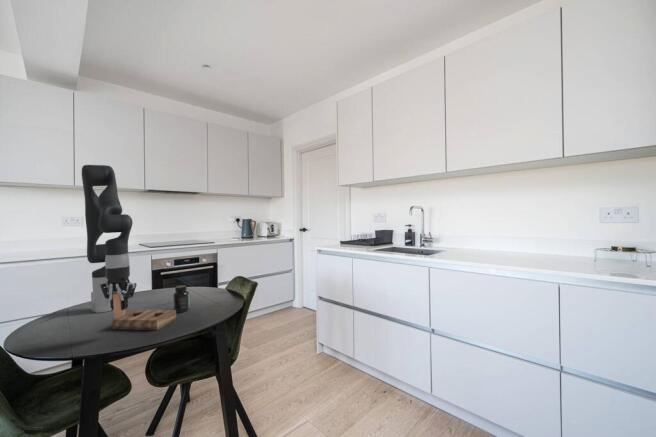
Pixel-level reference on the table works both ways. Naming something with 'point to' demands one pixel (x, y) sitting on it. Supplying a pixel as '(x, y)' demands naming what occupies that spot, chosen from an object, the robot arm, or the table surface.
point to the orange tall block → (117, 306)
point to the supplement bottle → (181, 299)
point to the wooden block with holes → (144, 319)
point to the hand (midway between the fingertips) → (119, 308)
